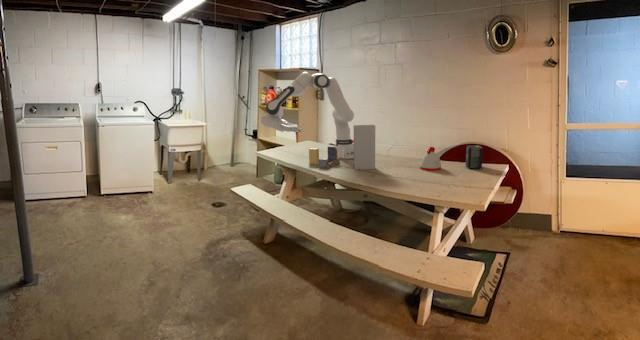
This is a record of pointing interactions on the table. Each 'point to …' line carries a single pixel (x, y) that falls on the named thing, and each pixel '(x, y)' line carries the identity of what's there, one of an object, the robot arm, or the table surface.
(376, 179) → the table surface
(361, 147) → the tall grey box
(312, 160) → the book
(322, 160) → the bookend
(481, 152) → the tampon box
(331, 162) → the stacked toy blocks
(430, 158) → the grey and red dome
